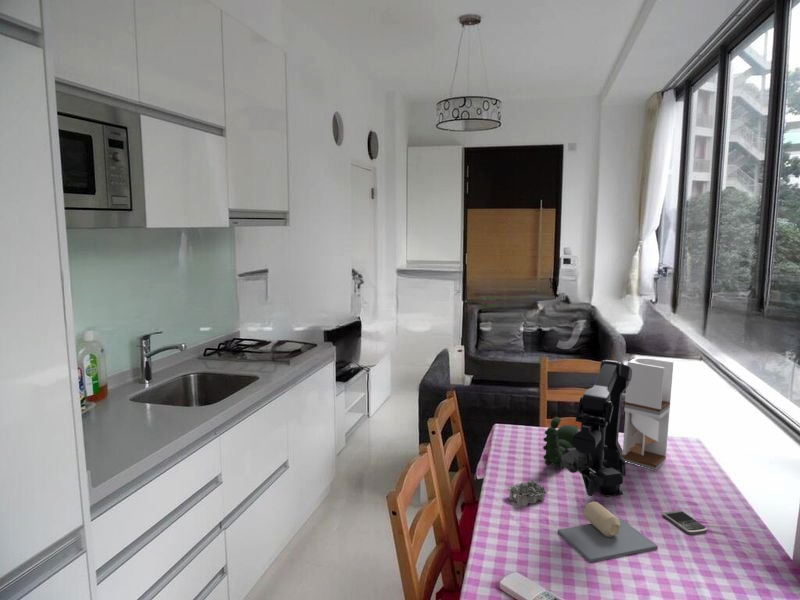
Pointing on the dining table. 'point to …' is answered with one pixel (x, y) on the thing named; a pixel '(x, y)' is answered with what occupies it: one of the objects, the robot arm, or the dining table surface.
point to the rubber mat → (606, 541)
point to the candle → (602, 519)
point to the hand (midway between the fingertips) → (590, 495)
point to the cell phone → (685, 522)
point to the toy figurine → (558, 442)
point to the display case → (647, 412)
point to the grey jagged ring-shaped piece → (531, 488)
